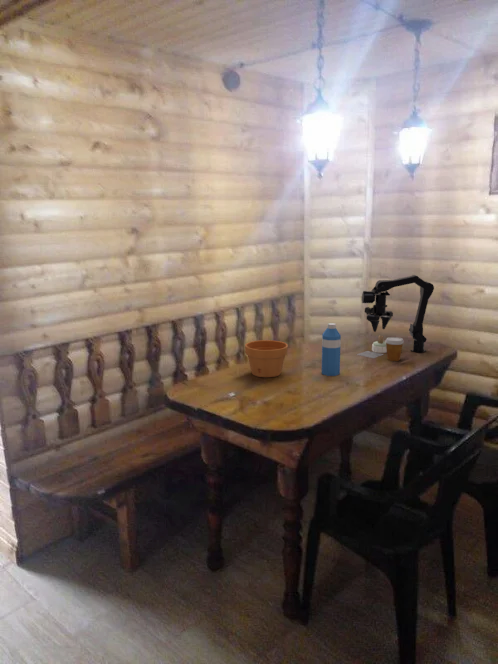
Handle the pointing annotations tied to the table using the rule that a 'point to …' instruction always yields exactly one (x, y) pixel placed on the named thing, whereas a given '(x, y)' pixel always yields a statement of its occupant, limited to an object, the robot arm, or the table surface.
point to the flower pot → (266, 357)
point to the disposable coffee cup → (394, 348)
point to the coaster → (370, 354)
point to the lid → (380, 342)
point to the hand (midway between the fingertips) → (379, 330)
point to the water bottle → (331, 351)
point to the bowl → (379, 349)
